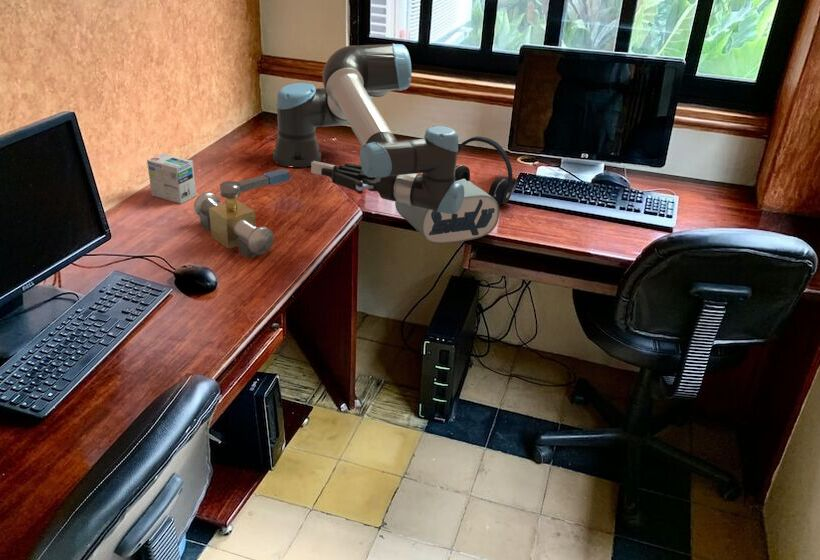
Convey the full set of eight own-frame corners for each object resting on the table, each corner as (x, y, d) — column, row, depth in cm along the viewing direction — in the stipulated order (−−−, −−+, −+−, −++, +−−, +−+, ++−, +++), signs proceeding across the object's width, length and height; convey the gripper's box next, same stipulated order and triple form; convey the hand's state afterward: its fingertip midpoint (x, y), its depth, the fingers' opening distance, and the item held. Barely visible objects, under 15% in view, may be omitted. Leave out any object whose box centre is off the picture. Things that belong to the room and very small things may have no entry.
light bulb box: (197, 196, 206) (193, 160, 200) (181, 204, 201) (177, 167, 195) (167, 187, 209) (162, 152, 204) (150, 196, 204) (145, 159, 199)
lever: (227, 199, 177) (226, 190, 175) (216, 193, 179) (216, 184, 178) (291, 181, 188) (291, 172, 187) (281, 175, 191) (280, 167, 190)
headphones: (513, 203, 215) (521, 144, 206) (501, 211, 210) (509, 150, 201) (455, 184, 224) (461, 127, 215) (443, 191, 219) (448, 132, 210)
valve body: (193, 224, 191) (189, 181, 185) (220, 216, 196) (217, 174, 190) (248, 262, 175) (246, 217, 169) (276, 253, 180) (274, 208, 174)
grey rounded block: (421, 249, 186) (423, 202, 180) (392, 220, 202) (394, 176, 196) (496, 237, 195) (501, 192, 189) (464, 211, 210) (467, 168, 204)
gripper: (387, 210, 170) (299, 189, 178) (409, 191, 181) (325, 172, 189) (388, 180, 167) (298, 160, 174) (411, 162, 177) (325, 144, 185)
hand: (312, 166), depth 181 cm, fingers closed
